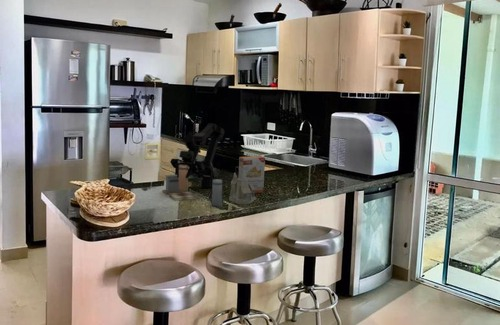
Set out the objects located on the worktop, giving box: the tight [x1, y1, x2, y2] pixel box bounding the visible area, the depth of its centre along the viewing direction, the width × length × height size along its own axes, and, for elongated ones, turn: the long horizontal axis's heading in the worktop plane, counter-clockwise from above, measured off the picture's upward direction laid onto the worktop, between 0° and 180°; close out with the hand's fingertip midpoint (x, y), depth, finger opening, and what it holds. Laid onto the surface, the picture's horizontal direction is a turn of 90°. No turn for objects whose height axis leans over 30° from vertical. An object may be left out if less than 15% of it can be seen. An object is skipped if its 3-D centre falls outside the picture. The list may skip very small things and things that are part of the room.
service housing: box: [162, 174, 186, 195], centre depth 254 cm, size 11×7×10 cm, turn 117°
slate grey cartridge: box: [211, 178, 223, 207], centre depth 229 cm, size 5×5×13 cm
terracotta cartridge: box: [179, 164, 189, 191], centre depth 242 cm, size 5×5×13 cm
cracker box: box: [238, 155, 266, 194], centre depth 258 cm, size 14×6×21 cm, turn 117°
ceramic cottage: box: [228, 172, 257, 205], centre depth 242 cm, size 16×16×15 cm
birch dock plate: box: [168, 191, 198, 202], centre depth 243 cm, size 12×11×2 cm
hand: (181, 177), depth 240 cm, fingers closed on terracotta cartridge, 5 cm apart
